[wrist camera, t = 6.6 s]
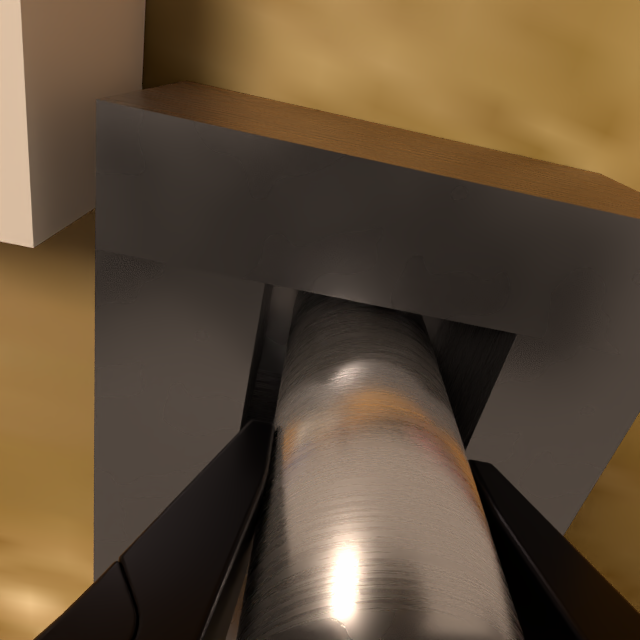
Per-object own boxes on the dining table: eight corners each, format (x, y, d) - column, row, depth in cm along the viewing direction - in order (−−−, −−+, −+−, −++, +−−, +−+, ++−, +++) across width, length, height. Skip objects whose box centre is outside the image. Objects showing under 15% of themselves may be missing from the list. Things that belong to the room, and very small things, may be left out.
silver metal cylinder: (399, 377, 14) (477, 797, 6) (283, 354, 14) (211, 761, 6) (434, 270, 13) (597, 643, 5) (306, 244, 13) (249, 586, 5)
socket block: (412, 590, 20) (433, 746, 15) (149, 547, 19) (93, 697, 15) (600, 173, 13) (743, 242, 8) (186, 80, 12) (96, 99, 7)
